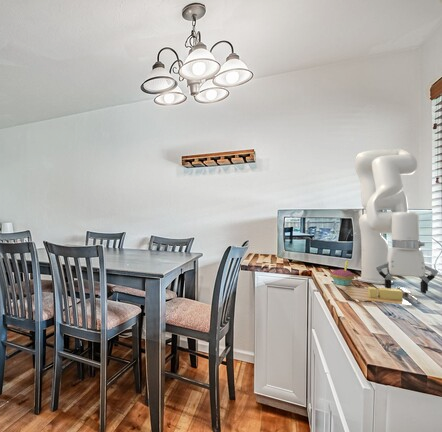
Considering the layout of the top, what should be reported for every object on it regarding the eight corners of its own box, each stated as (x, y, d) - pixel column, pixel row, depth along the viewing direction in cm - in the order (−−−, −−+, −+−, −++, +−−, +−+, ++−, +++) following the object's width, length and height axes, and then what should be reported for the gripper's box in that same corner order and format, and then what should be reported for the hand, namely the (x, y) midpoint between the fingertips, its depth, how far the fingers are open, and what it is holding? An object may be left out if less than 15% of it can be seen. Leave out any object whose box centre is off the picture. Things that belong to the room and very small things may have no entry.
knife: (397, 293, 124) (397, 286, 124) (403, 293, 123) (403, 287, 123) (413, 306, 106) (413, 298, 106) (420, 306, 106) (420, 299, 106)
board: (343, 288, 131) (343, 286, 131) (394, 293, 124) (394, 290, 124) (351, 301, 112) (352, 298, 112) (412, 307, 104) (412, 304, 104)
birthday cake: (350, 284, 139) (350, 257, 139) (357, 289, 131) (357, 260, 131) (327, 283, 142) (327, 256, 142) (333, 287, 134) (333, 259, 134)
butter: (378, 295, 117) (378, 287, 117) (399, 297, 114) (399, 289, 114) (380, 298, 113) (380, 289, 113) (402, 300, 110) (402, 291, 110)
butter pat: (367, 294, 118) (367, 286, 118) (374, 295, 117) (374, 287, 117) (370, 297, 115) (369, 288, 115) (377, 297, 114) (377, 289, 114)
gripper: (433, 245, 117) (433, 292, 116) (373, 243, 125) (373, 287, 125) (441, 246, 110) (441, 296, 110) (377, 244, 119) (378, 290, 118)
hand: (405, 291), depth 117 cm, fingers open, 9 cm apart
